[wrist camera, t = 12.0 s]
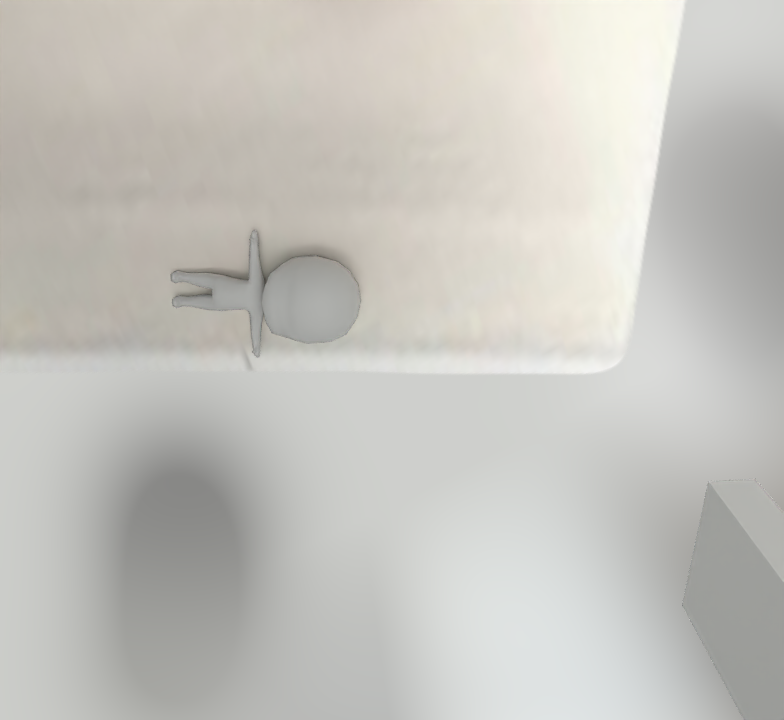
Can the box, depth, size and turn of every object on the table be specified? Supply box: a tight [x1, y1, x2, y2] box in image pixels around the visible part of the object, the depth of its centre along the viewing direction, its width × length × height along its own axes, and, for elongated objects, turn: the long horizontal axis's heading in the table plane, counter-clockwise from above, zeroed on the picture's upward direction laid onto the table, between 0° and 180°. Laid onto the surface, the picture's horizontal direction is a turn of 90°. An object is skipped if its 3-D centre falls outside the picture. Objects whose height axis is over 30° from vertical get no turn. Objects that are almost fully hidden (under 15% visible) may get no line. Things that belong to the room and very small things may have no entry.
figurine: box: [171, 230, 361, 358], centre depth 41 cm, size 8×5×12 cm
